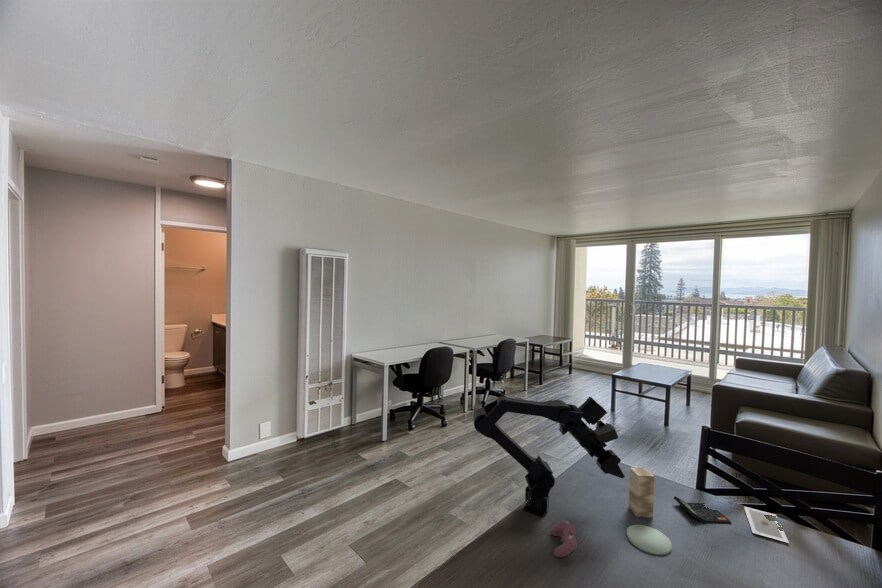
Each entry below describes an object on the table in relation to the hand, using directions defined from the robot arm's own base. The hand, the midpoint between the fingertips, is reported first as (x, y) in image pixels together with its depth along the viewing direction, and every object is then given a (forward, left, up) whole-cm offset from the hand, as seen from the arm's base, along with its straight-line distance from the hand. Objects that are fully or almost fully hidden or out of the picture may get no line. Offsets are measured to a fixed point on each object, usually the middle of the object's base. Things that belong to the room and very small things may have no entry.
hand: (616, 469), depth 115 cm
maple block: (+7, +4, -13) cm, 16 cm away
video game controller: (-9, -25, -14) cm, 30 cm away
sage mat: (+10, -9, -13) cm, 19 cm away
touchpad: (+39, +19, -14) cm, 45 cm away
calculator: (+23, +15, -14) cm, 31 cm away
